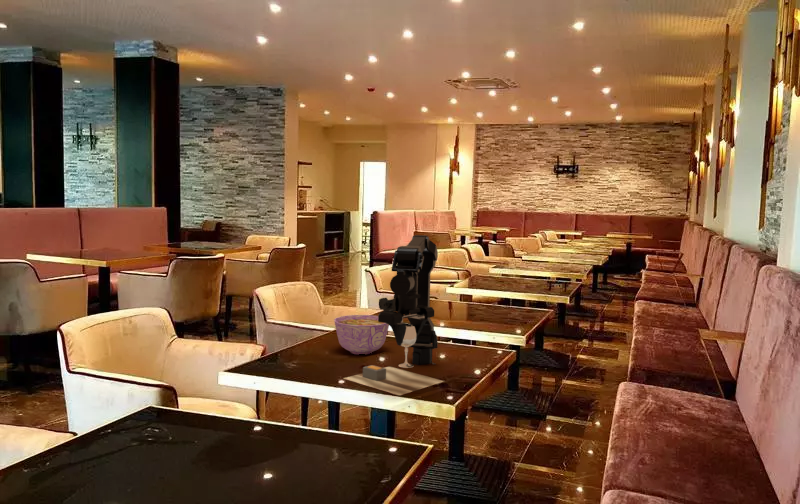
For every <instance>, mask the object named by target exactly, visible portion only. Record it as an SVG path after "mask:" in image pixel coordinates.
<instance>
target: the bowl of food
mask: <svg viewBox="0 0 800 504" xmlns="http://www.w3.org/2000/svg"><path fill="white" fill-rule="evenodd" d="M333 322H334V325H335V331H336V335H337V339H338V343H339V345H340V346H341V347H342V348H344V349H345V350H346V351H348V352H349V353H350V354H354V355H359V354H365V355H370V353H371V354H373V353H374V352H375V351H377V350H379V349H381V348H382V347H383V345H384V344H385V342H386V338H387V335H388V332H389V331H388V330H389V327H390V325H389V324H386V323H383V322H378V315H372V314H370V315H369V314H351V315H350V314H349V315H343V316H342V315H341V316H339V317H335V318H334V319H333ZM372 352H373V353H372Z"/></svg>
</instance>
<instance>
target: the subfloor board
mask: <svg viewBox="0 0 800 504" xmlns="http://www.w3.org/2000/svg"><path fill="white" fill-rule="evenodd" d="M384 368H385V369H386V379H383V380H379V381H375V380H371V379H368V378H364V377H363V372H362V373H358V374H355V375H351V376H347V377H344V378H343V380H348V381H350V382H352V383H357V384H360V385H364V386H367V387H370V388H373V389H377V390H380V391H384V392H388V393H390V394H393V395H396V396H403V395H405V394H409V393H411V392H416V391H419V390H421V389H425V388H427V387H431V386H433V385H439V384H441V383H444V382H445V380H441V379H438V378H434V377H430V376H427V375H423V374H419V373H415V372H412V371H408V370H405V369H400V368H398V367H397V368H396V367H393V366H385V367H384Z"/></svg>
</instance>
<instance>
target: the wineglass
mask: <svg viewBox="0 0 800 504" xmlns="http://www.w3.org/2000/svg"><path fill="white" fill-rule="evenodd" d="M416 338H417V334H416V328H415V325H413V324H410V323H406V328H405V332H404V336H403V341H402V344H401V347H404V356H405V360H404V362H403V363H400V364H398V366H397V367H400V368H404V369H408V368H413V367H414V365H415V364H411V363H409V362H408V352H409V348H411V347H410V346H412V345H414V344H415V342H416Z"/></svg>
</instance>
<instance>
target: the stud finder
mask: <svg viewBox="0 0 800 504" xmlns="http://www.w3.org/2000/svg"><path fill="white" fill-rule="evenodd" d="M362 373H363V377H364V378H368V379H371V380H375V381H379V380H383V379H386V369H385V367H383V366H382V367H381V366H377V365H375V364H370V365H368V366H367V365H366V366H363V367H362Z"/></svg>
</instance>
